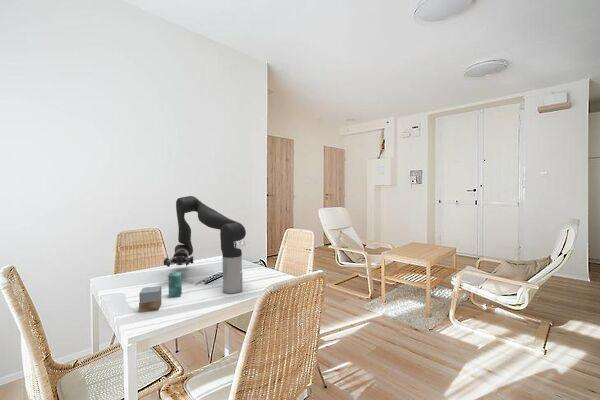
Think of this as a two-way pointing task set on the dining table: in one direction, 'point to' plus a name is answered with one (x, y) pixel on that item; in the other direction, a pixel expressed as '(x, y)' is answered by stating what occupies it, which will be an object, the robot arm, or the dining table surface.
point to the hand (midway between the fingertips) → (177, 264)
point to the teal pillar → (175, 284)
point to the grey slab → (150, 294)
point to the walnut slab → (149, 306)
